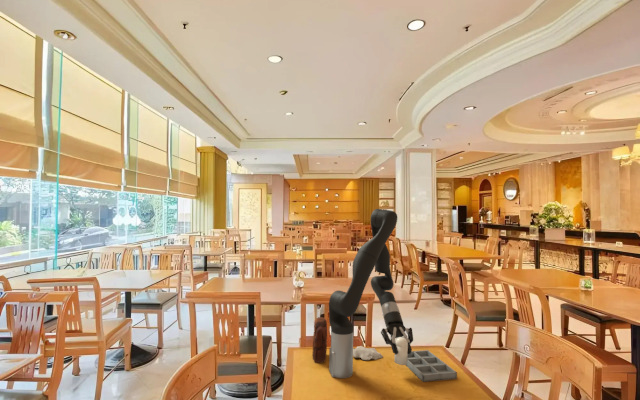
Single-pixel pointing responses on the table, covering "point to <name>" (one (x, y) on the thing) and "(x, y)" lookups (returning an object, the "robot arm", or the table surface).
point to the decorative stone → (366, 353)
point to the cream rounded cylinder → (401, 351)
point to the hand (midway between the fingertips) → (403, 353)
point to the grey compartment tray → (429, 367)
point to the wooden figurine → (320, 340)
